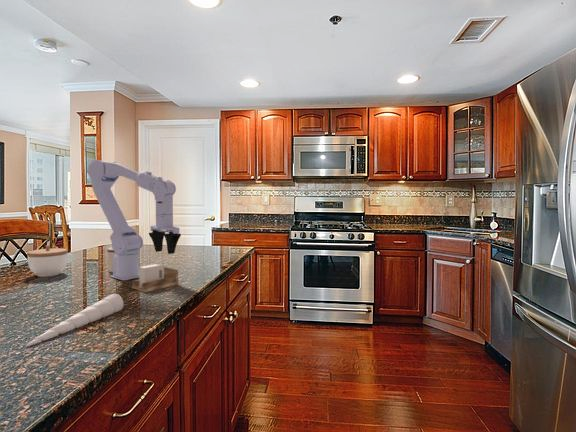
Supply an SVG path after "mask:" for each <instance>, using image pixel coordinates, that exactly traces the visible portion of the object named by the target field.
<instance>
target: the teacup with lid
mask: <svg viewBox="0 0 576 432" xmlns="http://www.w3.org/2000/svg"><path fill="white" fill-rule="evenodd" d="M106 252H107V266H108V267H107V269H108V271H107V272H109V273H112V274H113V258H114V256H115V255H116V252H115V251H114V250H113V248H112V246H110V247H108V248H107V251H106Z"/></svg>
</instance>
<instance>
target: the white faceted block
mask: <svg viewBox="0 0 576 432" xmlns="http://www.w3.org/2000/svg"><path fill="white" fill-rule="evenodd" d="M164 267H165V264H162V263H155V264H148V265H143V266H139V278H138V280H139V285H140V286H142V283H146V282H151V281H156V280H160V279H164Z"/></svg>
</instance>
